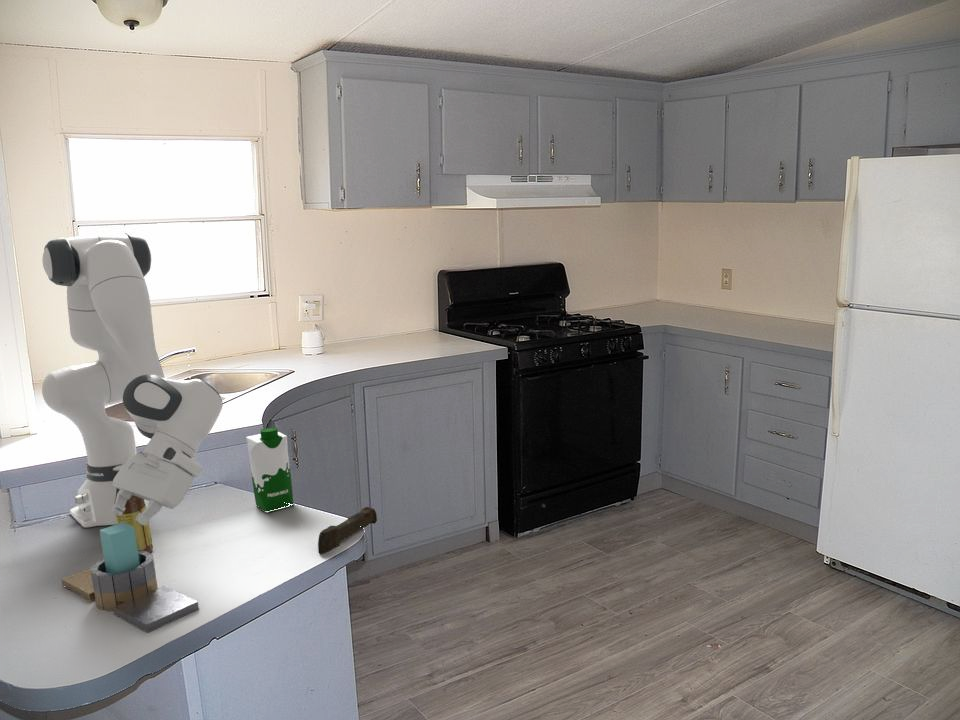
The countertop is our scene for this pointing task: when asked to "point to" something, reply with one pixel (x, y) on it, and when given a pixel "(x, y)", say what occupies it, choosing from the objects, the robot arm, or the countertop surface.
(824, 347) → the countertop surface
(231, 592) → the countertop surface
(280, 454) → the milk carton
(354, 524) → the hand tool
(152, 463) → the robot arm
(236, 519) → the countertop surface
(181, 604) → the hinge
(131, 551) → the teal square block
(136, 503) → the sauce bottle
